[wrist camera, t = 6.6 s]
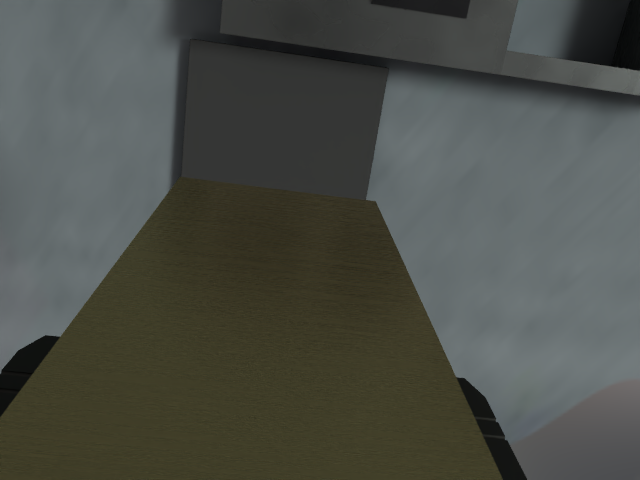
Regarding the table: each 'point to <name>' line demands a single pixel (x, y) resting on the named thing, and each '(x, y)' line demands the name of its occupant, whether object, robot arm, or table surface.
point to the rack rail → (430, 36)
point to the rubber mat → (281, 119)
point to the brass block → (248, 355)
